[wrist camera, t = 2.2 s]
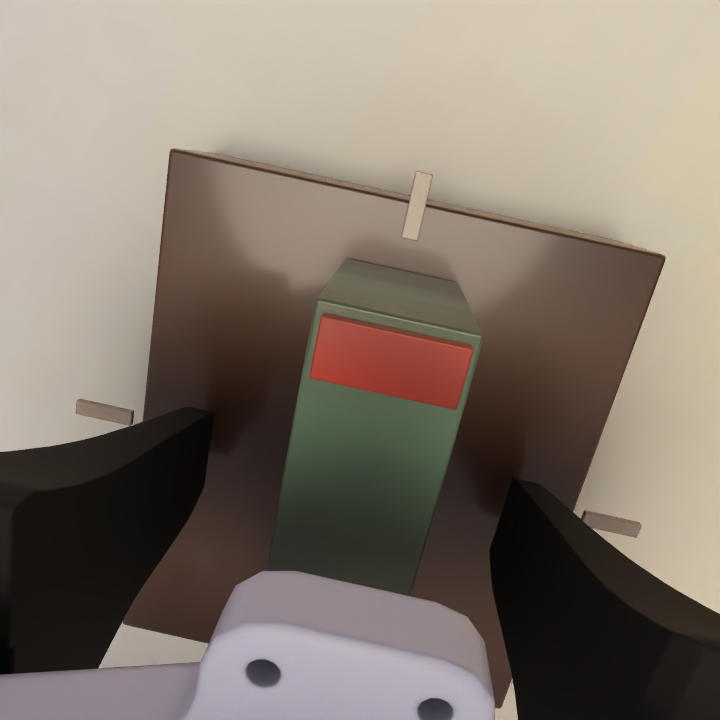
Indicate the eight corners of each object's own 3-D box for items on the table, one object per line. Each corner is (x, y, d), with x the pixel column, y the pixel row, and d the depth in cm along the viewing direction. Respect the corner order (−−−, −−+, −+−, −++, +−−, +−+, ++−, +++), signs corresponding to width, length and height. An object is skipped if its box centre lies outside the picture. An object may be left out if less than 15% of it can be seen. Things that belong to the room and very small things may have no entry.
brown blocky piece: (529, 656, 20) (552, 744, 17) (114, 564, 20) (62, 634, 17) (688, 231, 15) (757, 245, 12) (155, 115, 15) (94, 101, 12)
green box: (366, 637, 16) (351, 816, 12) (273, 617, 16) (223, 787, 12) (459, 282, 13) (487, 338, 9) (345, 257, 13) (313, 300, 9)
